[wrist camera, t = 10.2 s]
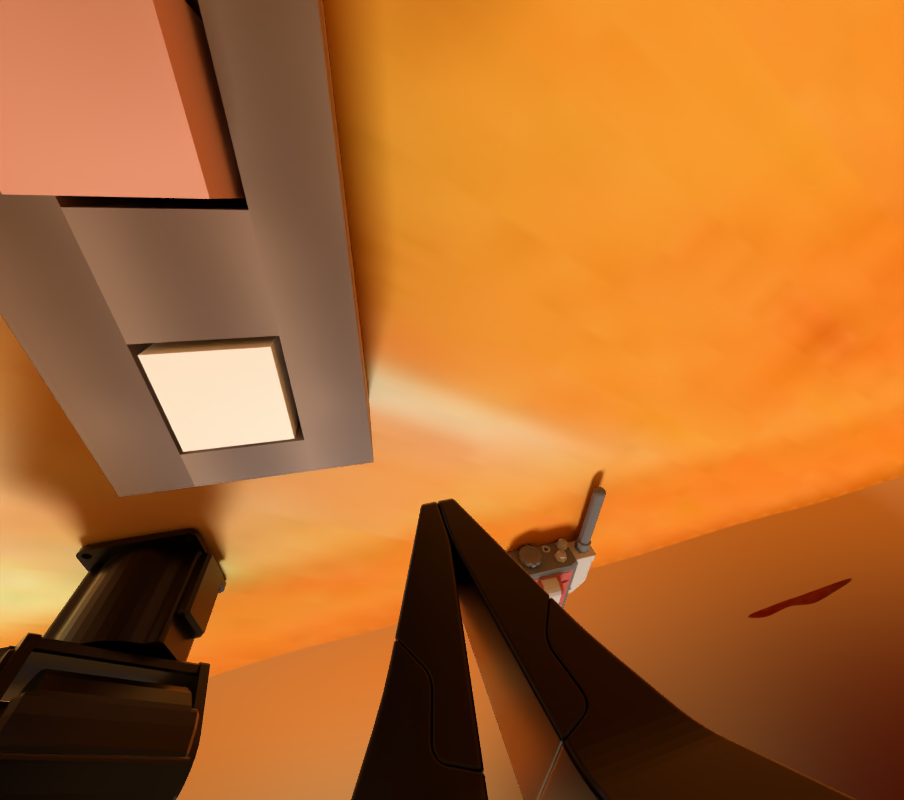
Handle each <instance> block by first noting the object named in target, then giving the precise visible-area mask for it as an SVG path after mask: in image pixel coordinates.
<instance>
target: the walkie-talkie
mask: <svg viewBox="0 0 904 800" xmlns="http://www.w3.org/2000/svg"><path fill="white" fill-rule="evenodd" d="M605 495H606V491H605V490H604V489H603V488H602V487H596V488H594V489H593V492H592V496H591V499H590V502H589V505H588V508H587V512H586V515H585V518H584V521H583V524H582V528H581V531H580V534H579V535H578V536H577V538H576V540H575V541H570V542H567V541H566V540H565V539H562V538H561V539H559V540H558V542H554V543H549V544H544V545H540V546H535V547H534V546H531V545H525V546H523V547H522V548H520V550H516V551H511V552H508V554H509V555H510V556H511V557H512V558H513V559H514V560H515V561H516V562H517V563H518V564H519V565H520V566H521V567H522V568H523V569H524V570H525V571H526V572H527V573H528V574H529V575H530V576H531V577H532V578H533V579H534V580H535V581H536V582H537V583H538V584H539V585H540V586H541V587H542V588H543V589H544V590H545V591H546V592H547V593H548V594H549V598H553V599H554V600H555V601H556V602H557V603H558V604H559V605H560V606H561V607H562V608H563V606H564V603H565V600H566V597H567V594H568V593H571V592H572V591H573V590H575V589H576V588H577V587H578V586H579V585H580V584H581V583H583V582H584V581H585V579H586V576H587V573H588V571H589V568H590V565H591V563H592V561H593V560H594V558H595V555H596V553H595V552H594V550H593V549H592V547H591V546H590V544H591V540H590V539H591V536H592V533H593V530H594V527H595V524H596V521H597V519H598V516H599V513H600V510H601V507H602V504H603V501H604V498H605Z"/></svg>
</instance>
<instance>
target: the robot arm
mask: <svg viewBox="0 0 904 800" xmlns="http://www.w3.org/2000/svg"><path fill="white" fill-rule="evenodd" d="M76 557H77V559H78V560H79V561H80V562H81V563H82V565H83V566H84V567H85V568H86V569H87V571H88V573H87V575H86V576H85V578H84V579H83V581H82V582H81V583H80V585H79V586H78V588H77V589H76V590H75V592H74V593H73V595H72V596H71V598H70V599H69V600H68V602H67V603H66V605H65V606H64V607H63V609H62V610H61V612H60V613H59V615H58V616H57V617H56V619H55V620H54V622H53V623H52V624H51V626H50V627H49V629H48V630H47V632H46V633H45V634H44V636H43V637H42V635H40V634H35V633H28V634H27V635H26V636H25V637H24V638H23V639H22V640H21V641H20V642H19V643H18V644H17V645H16V646H9V647H5V648H0V700H1V701H0V800H176V798H177V797H178V795H179V793H180V792H181V790H182V788H183V786H184V784H185V781H186V779H187V777H188V774H189V772H190V770H191V767H192V764H193V761H194V759H195V756H196V752H197V749H198V746H199V741H200V735H201V728H202V721H203V712H204V706H205V698H206V690H207V683H208V675H209V668H210V664H208V663H202V662H200V663H199V664H196V663H191V662H186V661H187V658H188V655H189V652H190V650H191V647H192V644H193V641H194V639H195V638H199V637H201V636H202V635H203V633H204V632H205V629H206V626H207V623H208V621H209V618H210V615H211V612H212V609H213V606H214V603H215V600H216V597H217V594H218V593H221V592H223V591H224V589H225V586H226V582H225V580H224V578H223V574H222V572H221V570H220V568H219V566H218V564H217V562H216V560H215V558H214V556H213V555H212V554H211V553H210V551H209V549H208V547H207V545H206V544H205V542H204V540H203V538H202V536H201V534H200V532H199V531H197V530H195V529H186V530H180V531H174V532H168V533H161V534H155V535H149V536H143V537H136V538H130V539H124V540H118V541H112V542H105V543H99V544H93V545H87V546H83V547H82V548H81V549H80V550H79V552H78V553H77V555H76ZM462 620H463V623H464V626H465V629H466V632H467V635H468V638H469V641H470V644H471V647H472V650H473V653H474V656H475V658H476V661H477V664H478V667H479V670H480V673H481V676H482V679H483V682H484V685H485V688H486V691H487V694H488V696H489V700H490V703H491V705H492V708H493V711H494V714H495V717H496V720H497V723H498V726H499V729H500V732H501V735H502V738H503V740H504V744H505V747H506V749H507V753H508V755H509V758H510V761H511V764H512V767H513V770H514V773H515V776H516V779H517V782H518V785H519V788H520V791H521V794H522V796H523V800H856V799H854V798H852V797H849V796H847V795H845V794H843V793H841V792H839V791H837V790H835V789H833V788H831V787H829V786H826V785H824V784H822V783H820V782H818V781H816V780H814V779H812V778H810V777H808V776H805V775H803V774H801V773H799V772H797V771H795V770H793V769H791V768H789V767H787V766H784V765H782V764H780V763H778V762H776V761H774V760H772V759H770V758H767V757H766V756H763V755H761V754H759V753H757V752H755V751H753V750H751V749H749V748H747V747H744V746H742V745H740V744H738V743H736V742H734V741H732V740H730V739H728V738H726V737H724V736H722V735H720V734H718V733H716V732H714V731H712V730H711V729H709V728H707V727H705V726H704V725H702V724H700V723H699V722H698V721H696V720H695V719H693V718H692V717H690V716H689V715H687V714H686V713H685V712H683V711H682V710H680V709H679V708H678V707H677V706H675V705H674V704H673V703H672V702H670V701H669V700H668V699H667V698H666V697H664V696H663V695H662V694H661V693H660V692H658V691H657V690H656V689H655V688H654V687H652V686H651V685H650V684H649V683H648V682H646V681H645V680H644V679H643V678H642V677H640V676H639V675H638V674H636V673H635V672H634V671H633V670H632V669H631V668H629V667H628V666H627V665H626V664H625V663H623V662H622V661H621V660H620V659H618V658H617V657H616V656H615V655H614V654H613V653H611V652H610V651H609V650H608V649H607V648H606V647H604V646H603V645H602V644H601V643H600V642H599V641H597V640H596V639H595V638H594V637H593V636H592V635H590V634H589V633H588V632H587V631H586V630H585V629H584V628H583V627H582V626H580V625H579V624H578V623H577V622H576V621H575V620H574V619H573V618H572V617H571V616H570V615H569V614H568V613H567V612H566V611H565V610H564V609H563V608H562V607H561V606H560V605H559V604H558V603H557V602H556V601H555V600H554V599H553V598H549V594H548V593H547V592H546V591H545V590H544V589H543V588H542V587H541V586H540V585H539V584H538V583H537V582H536V581H535V580H534V579H533V578H532V577H531V576H530V575H529V574H528V573H527V572H526V571H525V570H524V569H523V568H522V567H521V566H520V565H519V564H518V563H517V562H516V561H515V560H514V559H513V558H512V557H511V556H510V555H509V554H508V553H507V552H506V551H505V550H504V549H503V548H502V547H501V546H500V545H499V544H498V543H497V542H496V541H495V540H494V539H493V538H492V537H491V536H490V535H489V534H488V533H487V532H486V531H485V530H484V529H483V528H482V527H481V526H480V525H479V524H478V523H477V522H476V521H475V520H474V519H473V518H472V517H471V516H470V515H469V514H468V513H467V512H466V511H465V510H464V509H463V508H462V507H461V506H460V505H459V504H458V503H457V502H456V501H455V500H454V499H446V500H441V501H439V502H438V504H437V502H431V503H426V504H423V505H422V506H421V509H420V514H419V519H418V524H417V530H416V535H415V540H414V545H413V550H412V555H411V560H410V565H409V570H408V575H407V581H406V586H405V591H404V596H403V601H402V606H401V611H400V616H399V621H398V627H397V631H396V637H395V639H396V641H395V642H394V646H393V651H392V656H391V661H390V665H389V670H388V674H387V679H386V683H385V687H384V692H383V696H382V699H381V703H380V706H379V710H378V713H377V717H376V721H375V724H374V728H373V731H372V734H371V737H370V741H369V744H368V747H367V750H366V754H365V757H364V760H363V764H362V767H361V770H360V773H359V776H358V780H357V783H356V786H355V789H354V792H353V796H352V799H351V800H488V796H487V789H486V782H485V776H484V774H483V770H484V768H483V761H482V754H481V748H480V741H479V734H478V727H477V721H476V713H475V706H474V700H473V692H472V686H471V679H470V672H469V665H468V658H467V651H466V644H465V637H464V631H463V624H462ZM4 701H10V702H4Z"/></svg>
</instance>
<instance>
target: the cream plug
mask: <svg viewBox="0 0 904 800" xmlns="http://www.w3.org/2000/svg"><path fill="white" fill-rule="evenodd" d="M138 357H139V359H140V362H141V364H142V366H143V368H144V370H145V372H146V374H147V376H148V378H149V381H150V383H151V385H152V387H153V389H154V391H155V393H156V395H157V397H158V400H159V402H160V404H161V406H162V408H163V410H164V412H165V414H166V416H167V419H168V421H169V423H170V425H171V427H172V429H173V431H174V433H175V435H176V438H177V440H178V442H179V444H180V446H181V448H182V450H183V452H186V451H195V450H203V449H212V448H220V447H229V446H237V445H246V444H254V443H262V442H271V441H279V440H288V439H295V435H296V431H297V427H298V422H299V416H298V411H297V407H296V403H295V399H294V395H293V391H292V387H291V383H290V378H289V374H288V370H287V366H286V362H285V358H284V354H283V349H282V345H281V341H280V337H279V336H266V337H248V338H231V339H214V340H196V341H179V342H161V343H154V344H152V345H151V346H149V347H148V348H147V349H145V350H144V351H143V352H141V353H140V354H139V355H138Z"/></svg>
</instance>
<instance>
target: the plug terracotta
mask: <svg viewBox="0 0 904 800" xmlns="http://www.w3.org/2000/svg"><path fill="white" fill-rule="evenodd" d="M0 192H1V194H7V195H55V196H102V197H149V198H196V199H223V198H246V197H245V193H244V189H243V184H242V180H241V176H240V172H239V168H238V164H237V160H236V156H235V151H234V147H233V143H232V139H231V135H230V131H229V127H228V122H227V118H226V114H225V110H224V106H223V102H222V98H221V94H220V89H219V85H218V81H217V77H216V73H215V69H214V65H213V61H212V56H211V52H210V48H209V44H208V40H207V36H206V32H205V28H204V23H203V21H202V20H201V19H200V17H199V16H198V15H197V14H196V13H195V12H194V10H193V9H192V8H191V7H190V6H189V5H188V4H187V2H186V1H185V0H0Z"/></svg>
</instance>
